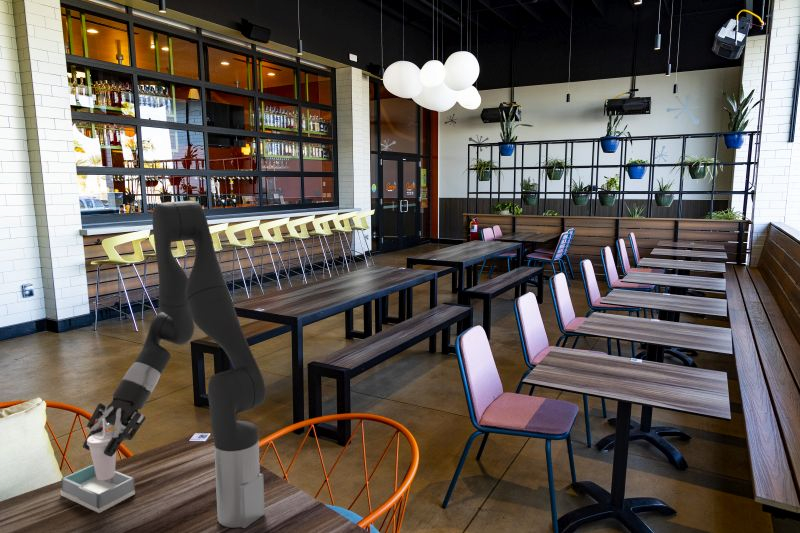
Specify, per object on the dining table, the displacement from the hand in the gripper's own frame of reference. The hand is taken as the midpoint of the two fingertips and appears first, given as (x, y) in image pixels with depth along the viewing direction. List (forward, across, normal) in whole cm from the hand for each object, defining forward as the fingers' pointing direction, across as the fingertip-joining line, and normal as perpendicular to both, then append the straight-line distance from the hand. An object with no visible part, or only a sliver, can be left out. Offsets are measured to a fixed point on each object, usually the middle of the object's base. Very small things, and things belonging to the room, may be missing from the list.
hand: (96, 451), depth 122 cm
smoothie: (+4, 0, +6) cm, 7 cm away
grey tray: (+7, -3, +10) cm, 13 cm away
